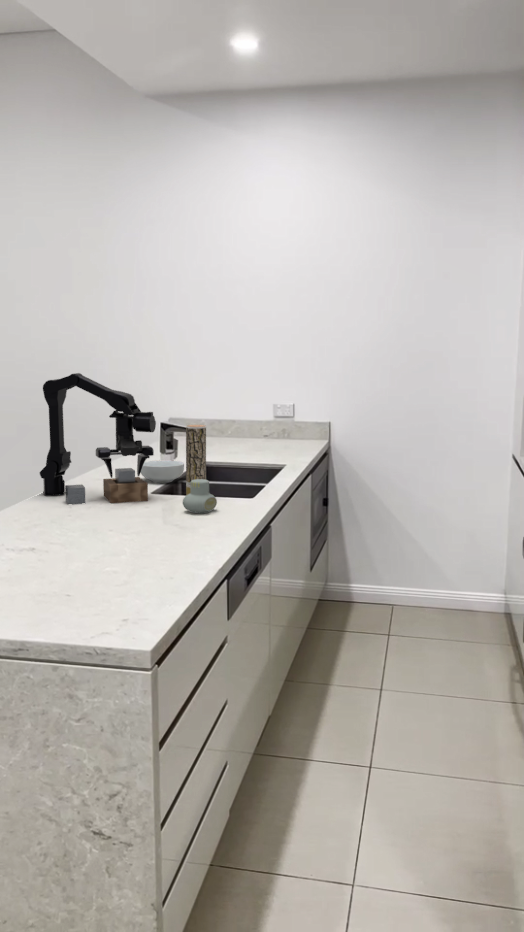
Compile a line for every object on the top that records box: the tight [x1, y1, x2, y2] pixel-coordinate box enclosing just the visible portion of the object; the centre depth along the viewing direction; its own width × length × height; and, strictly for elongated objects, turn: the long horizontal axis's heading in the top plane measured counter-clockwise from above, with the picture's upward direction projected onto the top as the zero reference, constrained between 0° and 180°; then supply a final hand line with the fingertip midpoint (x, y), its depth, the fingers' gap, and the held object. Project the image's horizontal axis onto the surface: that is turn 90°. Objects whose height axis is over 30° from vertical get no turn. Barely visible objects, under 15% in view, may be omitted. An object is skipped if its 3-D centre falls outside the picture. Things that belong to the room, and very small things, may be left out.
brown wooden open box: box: [102, 476, 149, 504], centre depth 275 cm, size 12×12×6 cm
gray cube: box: [64, 483, 86, 505], centre depth 268 cm, size 6×6×6 cm
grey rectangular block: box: [114, 467, 136, 484], centre depth 275 cm, size 6×6×10 cm
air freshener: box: [182, 479, 218, 514], centre depth 257 cm, size 11×8×10 cm
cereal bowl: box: [140, 459, 185, 484], centre depth 307 cm, size 17×17×7 cm
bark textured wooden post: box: [185, 424, 207, 496], centre depth 276 cm, size 7×7×25 cm
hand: (125, 476), depth 274 cm, fingers open, 9 cm apart
